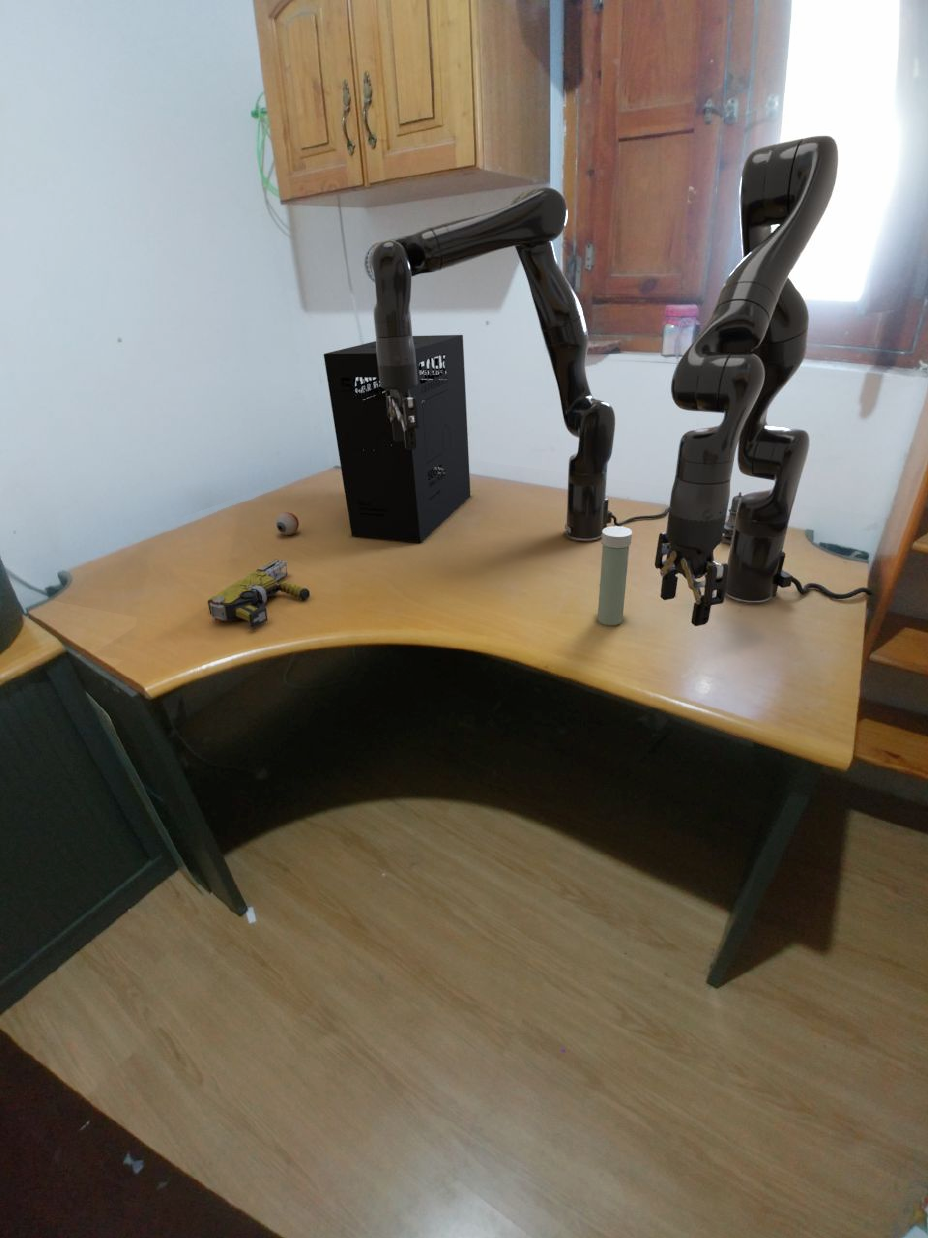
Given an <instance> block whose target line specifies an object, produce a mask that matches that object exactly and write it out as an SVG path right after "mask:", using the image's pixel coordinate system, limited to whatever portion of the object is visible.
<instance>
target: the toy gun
mask: <svg viewBox="0 0 928 1238" xmlns="http://www.w3.org/2000/svg"><path fill="white" fill-rule="evenodd" d="M283 568H285V571H282V569H283ZM288 573H289V572H288V563H287V561H286V560H280V559H278V558H276V559H274V560H272V561H271V562H269V563H268V564H266V565H264V566H263V567H262V568H258V569H256V570H254V571H253V572H251V573H250V574H248V575H246V576H245V577H243V578H241V579H240V580H238V581H237V582H235V583H233V584H232V585H230V586H228V587H227V588H224V590H222V591H220V592H218V593H217V594H215V595H213V596H212V597H210V598H209V599H207V605H208V613H209V615H210V616H211V618H213V619H214V621H215V622H217V621H218V622H219V623H222V622H223V621H225V622H231V621H236V620H244V621H246V622H248V623H249V626H250V628H251V629H254V628H257V627H258V626H260V625H262V624H264V623H265V622H267V621H268V620H269V619H268V611H267V607H266V606H265V604H266V603H267V601H268V598H269V597H271V596H274V595H275V594H278V593H279V592H282V593H285V594H288V595H290V596H294V597H295V598H299V599H300V600H302V601H305V600H307V599H309V598H310V596H311V595H310V594H311V593H310V589H308V588H306V587H301V586H300V585H298V586H297V585H296V584H293V583H291V582H288V581H286V580H285V581H282V582H281V583H280V584H278V581H279V580H281V579H282V578H283V577H286V576H288Z"/></svg>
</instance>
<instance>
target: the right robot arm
mask: <svg viewBox="0 0 928 1238" xmlns="http://www.w3.org/2000/svg"><path fill="white" fill-rule="evenodd" d="M838 167H839V150H838V144H837V141H836V140H835V138H833V137H832V136H830V135H815V136H809V137H804V138H798V139H795V140H790V141H785V142H780V143H777V144H770V145H766V146H761V147H759V148H756V149H754V150H753V151H751V152H750V153H749V155H748V156H747V158H746V160H745V162H744V165H743V168H742V172H741V178H740V185H739V216H740V217H739V218H740V219H739V221H740V235H741V251H742V260H741V261H740V263H738V264H737V266H736V267H735V268H734V269H733V271H731V273H730V274H729V276H728V277H727V279H726V280H725V282H724V284H723V286H722V288H721V290H720V293H719V296H718V298H717V301H716V304H715V306H714V309H713V311H712V314H711V317H710V318H709V321H708V322H707V324H706V325H705V326H704V328H703V329H702V330H701V332H700V333H699V334H698V336H697V337H696V339H694V341H693V342H692V344H691V345H690V346H689V347H688V348H687V350H686V351H685V352H684V354H683V355H682V356H681V358H680V360H679V361H678V363H677V365H676V367H675V369H674V372H673V374H672V378H671V382H670V394H671V398H672V400H673V402H674V404H675V405H676V407H678V408H679V409H682V410H684V411H689V412H703V413H714V414H715V413H718V414H723V418H722V420H721V422H720V424H717V425H716V426H711V427H702V428H697V429H692V430H688V431H687V432H684V434H683V435H682V436H681V437H680V441H679V444H678V451H677V459H676V467H675V475H674V480H673V485H672V488H671V492H670V499H669V506H668V507H669V511H668V516H667V524H666V530H665V532H660V533H659V534H658V540H657V546H656V553H655V557H654V558H655V559H654V567H655V569H659V570H660V571H659V574H660V576H661V577H662V579H661V587H660V598H661V599H662V600H663V601H668V600H673V599H675V598H676V594H677V588H678V587H677V586H678V581H679V576H678V574H680V575H682V576H683V577H684V579H686V582H687V586H688V588H689V589H690V590H692V593H693V597H694V603H693V607H692V613H691V620H690V622H691V624H692V625H693V626H694V627H699V626H704V625H707V624H708V622H709V621H710V614H711V610H712V606H716V605H721V604H724V602H725V597H726V598H727V599H729V600H730V601H733V602H737V603H741V604H746V605H761V604H765V603H768V602H770V601H772V598H775V597H776V596H777V593H778V589H779V587H780V588H782V589H785V588H789V587H791V586H792V583H793V584H794V585H795V587H796V590H797V593H799V594H802V595H805V594H807V593H808V591H809V590H810V589H815V590H818V591H820V592H821V593H823V594H824V595H826V596H828V597H829V598H831V599H836V600H845V599H846V600H847V599H851V598H853V597H855V596H857V595H859V594H862V593H865V594H866V595H867V596H874V593H873V591H872V590H871V589H870V588H868V587H864V586H863V587H858V588H856V589H854V590H852V591H850V592H846V593H836V592H832V591H831V590H829V589H828V588H826V587H825V586H824V585H822V584H819V583H816V582H815V583H814V582H810V583H809V582H808V583H806V584H805V585H804V586H802V583H801V582H800V580H799V579H797V578H796V577H794V576H793V575H792V574H790V573H789V572H787V571H785V570H784V569H783V567H784V564H785V558H786V553H785V551H783V549H784V545H785V540H786V536H787V531H788V527H789V524H790V523H789V522H790V519H791V514H792V510H793V506H794V504H795V500H796V497H797V493H798V489H799V485H800V482H801V478H802V476H803V471H804V468H805V465H806V462H807V458H808V454H809V449H810V436H809V433H808V432H807V431H806V430H804V429H802V428H801V429H800V428H794V427H793V428H792V427H786V426H785V427H784V426H775V425H769V424H768V423H767V415H768V410H769V408H770V406H771V404H773V401H774V400H775V398H776V397H777V396H778V394H779V393H780V392H781V391H782V390H783V389H784V388H785V386H786V385H787V384H788V382H790V380H791V379H792V377H793V376H795V374H796V372H797V371H798V370H799V368H800V367H801V365H802V363H803V361H804V359H805V357H806V354H807V347H808V346H807V345H808V333H809V323H810V322H809V321H810V316H809V309H808V305H807V303H806V301H805V300H804V297H803V296H802V294H801V293H800V291H799V289H798V288H797V286H796V285H795V284H794V282H793V280H792V279H791V277H790V275H791V272H792V271H793V269H794V267H795V265H796V263H797V262H798V260H799V259H800V257H801V255H802V254H803V252H804V250H805V248H806V247H807V245H808V243H809V241H810V240H811V238H812V236H813V234H814V232H815V230H816V229H817V227H818V225H819V223H820V221H821V220H822V217H823V216H824V214H825V212H826V210H827V208H828V206H829V203H830V201H831V198H832V195H833V193H834V189H835V186H836V182H837V178H838V177H837V175H838ZM774 226H775V227H776V226H777V227H776V228H775V229H774V230H772V227H774ZM736 451H737V455H736ZM735 456H736V457H737V466H738V470H739V472H740V473H741V474H742V475H745V476H748V477H753V478H758V479H762V480H769V481H774V484H773V487H772V488H770V489H767V490H760V491H754V492H753V491H752V492H749V493H746V494H744V495H742V497H741V498H740V500H739V503H738V508H737V514H736V519H735V524H734V530H733V536H732V541H731V544H730V546H729V553H728V558H727V562H722V563H718V562H716V561H715V558H714V550H715V549H716V548H717V547H718V546H719V545H720V544H721V543H722V537H723V536H724V533H723V531H724V526H725V522H726V521H727V520H726V519H727V514H728V510H729V509H728V507H729V503H730V497H731V481H732V480H731V479H732V473H733V467H734V461H735V458H736V457H735ZM664 556H666V559H663V558H664ZM703 577H704V579H705V580H701V581H697V580H699V579H701V578H703ZM701 588H704V590H703V594H702V591H701ZM715 591H716V593H715Z"/></svg>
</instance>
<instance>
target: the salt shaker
mask: <svg viewBox="0 0 928 1238" xmlns="http://www.w3.org/2000/svg"><path fill="white" fill-rule="evenodd" d="M742 496H743V495H742V492H741V491H739V493H738V495H735V496H733V497H732V500H731V505H730V508H729V509H728V513H729V514H728V519H727V520H726V521H725V526H724V531H723V537H722V541H721V543H725V544H729V545H731V541H732V536H733V530H734V524H735V519H736V514H737V508H738V503H739V500H740V498H741V497H742Z"/></svg>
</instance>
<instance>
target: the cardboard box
mask: <svg viewBox="0 0 928 1238" xmlns="http://www.w3.org/2000/svg"><path fill="white" fill-rule="evenodd" d="M412 336H413V342H414V347H415V357H416V369H417V380H418V384H417V385H416V386H415V387H411V388H410V389H409V392H410V396H411V397H413V396H415V397H416V403H417V413H418V422H419V428H416V430H415V435H416V446H417V447H416V449H412V450H407V449H406V448H405V440H403V441H395V440H394V437H393V428H392V423H391V421H390V418H388V416H387V404H386V393H385V389H383V388H381V386H380V380H379V372H378V363H377V354H376V340H374V341H371V342H367V343H362V344H359V345H354V346H349V347H346V348H341V349H337V350H334V351H329V352H326V353H323V359H324V367H325V373H326V380H327V385H328V392H329V398H330V399H329V400H330V406H331V412H332V418H333V425H334V430H335V437H336V444H337V451H338V456H339V463H340V469H341V476H342V483H343V489H344V495H345V501H346V503H345V504H346V509H347V514H348V520H349V527H350V528H349V529H350V533H351V535H350V536H351V537H359V538H367V539H376V540H377V539H378V540H388V541H397V542H406V543H407V542H408V543H417V544H421V543H422V542H423V541H425V540H426V538H428V537H429V536H430V535H431V534H432V533H433V532H434V531H435V530H436V529H438V527H439V526H441V524H443V522H445V521H446V520H447V519H448V518H449V517H450V516H452V514H453V513H454V512H455V511H457V509H458V508H459V507H461V506H462V505H463V504H464V503H465V502H466V501H467V500H468V499H469V498H470V497H471V478H470V459H469V458H470V457H469V435H468V415H467V413H468V412H467V394H466V392H467V391H466V374H465V373H466V372H465V371H466V370H465V354H464V353H465V352H464V350H465V349H464V335H463V334H440V335H439V334H438V335H437V334H436V335H435V334H434V335H433V334H432V335H412ZM422 363H423V365H422ZM440 364H441V365H440ZM440 366H441V367H440ZM366 378H367V380H366ZM370 379H371V380H370ZM361 380H362V381H361ZM409 423H411V421H410V420H409Z"/></svg>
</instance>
